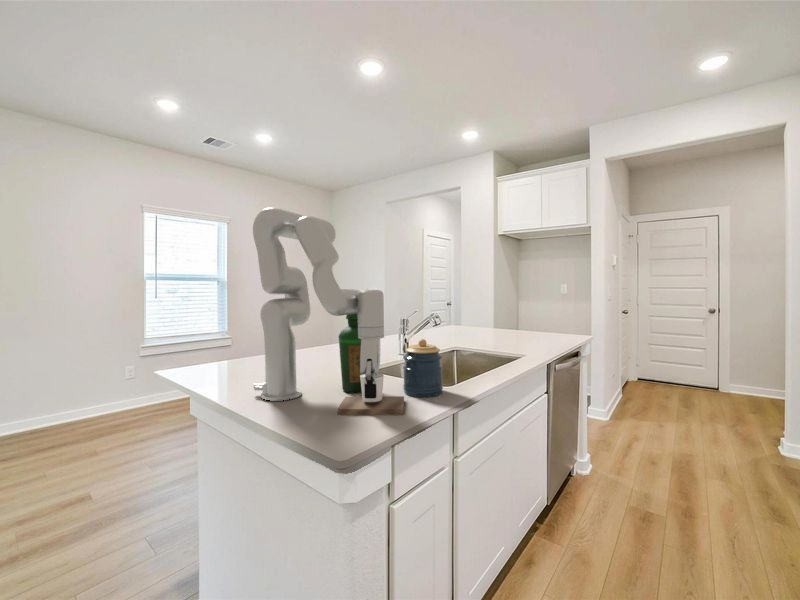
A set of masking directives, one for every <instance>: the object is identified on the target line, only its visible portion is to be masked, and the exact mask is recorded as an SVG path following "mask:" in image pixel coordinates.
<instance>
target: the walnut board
mask: <svg viewBox="0 0 800 600" xmlns="http://www.w3.org/2000/svg"><path fill="white" fill-rule="evenodd" d="M404 409H405V396H403V395H402V396H401V395H400V396H399V395H398V396H397V395H396V396H395V395H394V396H393V395H392V396H383V395H382V400H380V401H377V402H366V401H363V399H362V396H345V397H343V400H342V401H341V402H340V404H339V406H338V407H337V410H336V411H337V412H336V413H337V416H338V415H339V416H341V415H343V416H344V415H346V416H348V415H349V416H353V415H354V416H355V415H356V416H357V415H359V416H360V415H363V416H364V415H367V416H370V415H374V416H375V415H377V416H378V415H379V416H381V415H382V416H383V415H388V416H391V415H395V416H396V415H400V416H401V415H404Z"/></svg>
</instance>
